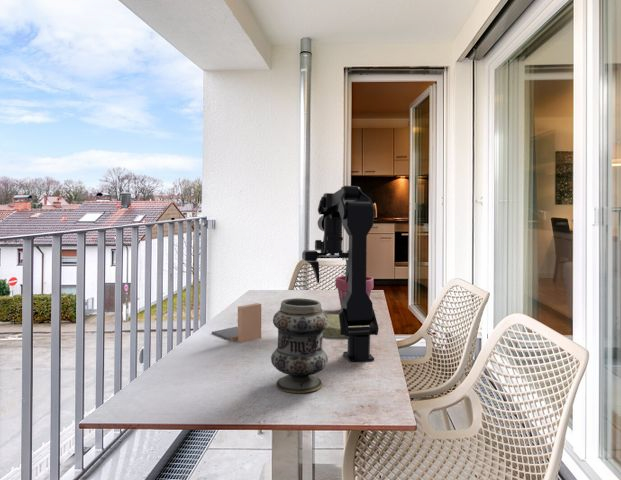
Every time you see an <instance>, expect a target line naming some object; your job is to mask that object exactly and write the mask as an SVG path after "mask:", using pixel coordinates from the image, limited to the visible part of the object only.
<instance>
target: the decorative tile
mask: <svg viewBox="0 0 621 480" xmlns="http://www.w3.org/2000/svg"><path fill="white" fill-rule="evenodd" d="M325 314H326V315H327V317H328V325H327V326H326V328H325V329H323V335H322V336H323V337H324V336H325V337H328V338H329V337H333V338H347V339H348V336H345V335H341V334H340V321H339V314H331V313H325ZM348 327H366V326H348Z"/></svg>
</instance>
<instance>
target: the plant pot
mask: <svg viewBox="0 0 621 480" xmlns="http://www.w3.org/2000/svg"><path fill="white" fill-rule="evenodd" d="M334 283H335V288H336V289H337V293H338V299H339V302H340V309H341V308H342V298H343V297H344V296H346V294H347V292H348V282H347V283H346V282H345V275H340V276H336V277H335V282H334ZM374 286H375V285H374V278H373V277H372V276H367V275H366V293H367V295H368V296H369V298H370V297H371V292H372V290H373V289H374ZM370 299H371V298H370Z"/></svg>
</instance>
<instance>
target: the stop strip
mask: <svg viewBox="0 0 621 480" xmlns="http://www.w3.org/2000/svg"><path fill="white" fill-rule="evenodd" d="M229 342H230V343H231V342H232V343H233V342H238V335H235V336H231V337H230V340H229Z"/></svg>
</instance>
